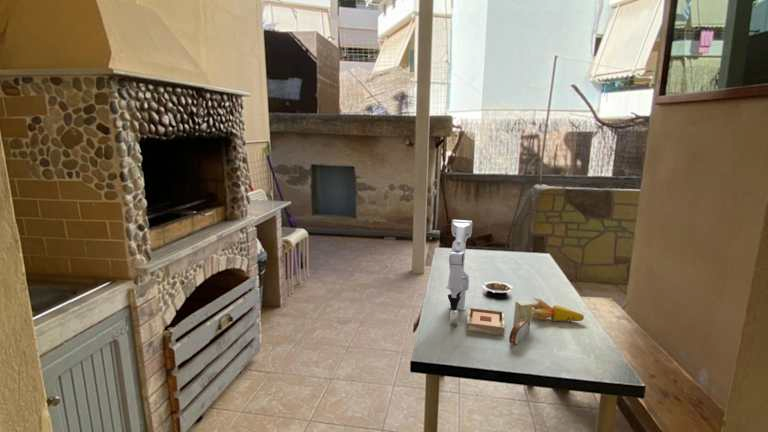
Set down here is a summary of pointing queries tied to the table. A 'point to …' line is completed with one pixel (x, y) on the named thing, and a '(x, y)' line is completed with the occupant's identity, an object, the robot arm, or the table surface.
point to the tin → (518, 331)
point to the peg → (454, 318)
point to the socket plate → (485, 318)
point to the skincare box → (523, 311)
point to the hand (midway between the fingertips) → (454, 306)
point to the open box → (483, 327)
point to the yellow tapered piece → (554, 312)
